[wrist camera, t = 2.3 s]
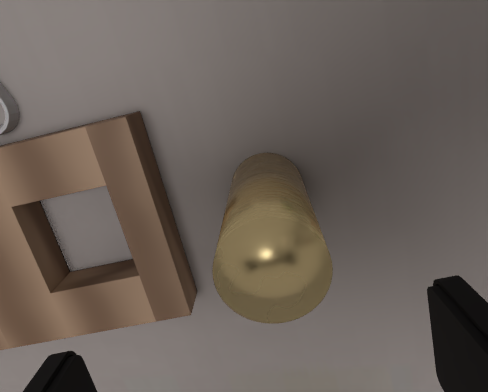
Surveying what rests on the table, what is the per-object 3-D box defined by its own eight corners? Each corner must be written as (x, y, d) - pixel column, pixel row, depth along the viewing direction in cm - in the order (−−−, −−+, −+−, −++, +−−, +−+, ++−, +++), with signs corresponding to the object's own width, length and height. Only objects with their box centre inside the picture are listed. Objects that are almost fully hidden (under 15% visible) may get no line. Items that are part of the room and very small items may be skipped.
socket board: (139, 111, 22) (125, 116, 20) (197, 291, 26) (190, 314, 23) (-137, 179, 24) (-180, 192, 21) (-47, 338, 27) (-76, 363, 25)
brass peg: (294, 145, 22) (321, 206, 13) (308, 212, 24) (341, 312, 14) (223, 161, 23) (198, 231, 13) (240, 226, 24) (228, 332, 14)
